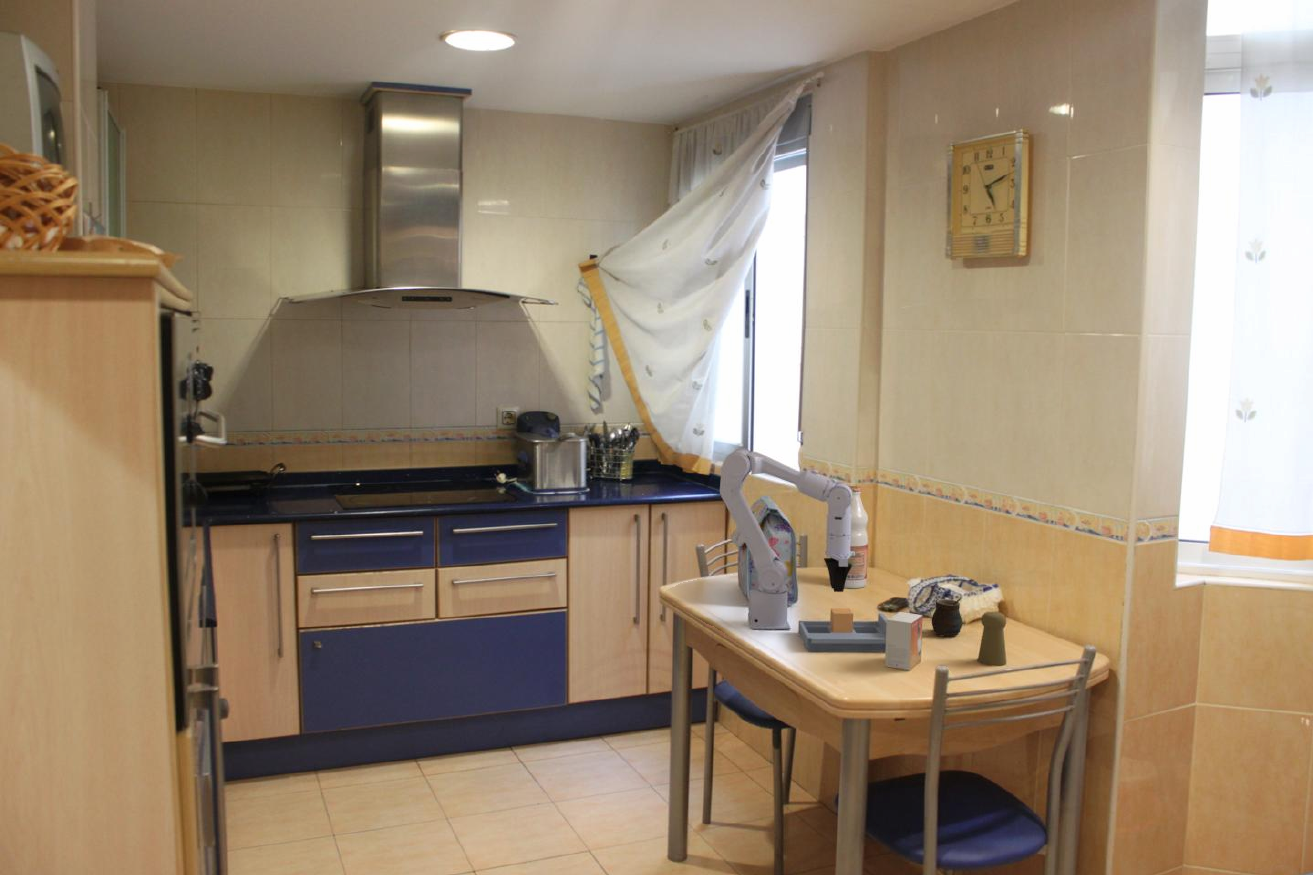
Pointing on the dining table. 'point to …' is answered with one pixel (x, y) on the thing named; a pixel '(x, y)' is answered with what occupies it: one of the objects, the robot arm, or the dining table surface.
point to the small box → (903, 640)
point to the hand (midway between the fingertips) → (837, 589)
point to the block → (841, 620)
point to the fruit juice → (858, 542)
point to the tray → (844, 636)
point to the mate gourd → (947, 618)
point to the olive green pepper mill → (992, 640)
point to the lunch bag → (780, 542)
